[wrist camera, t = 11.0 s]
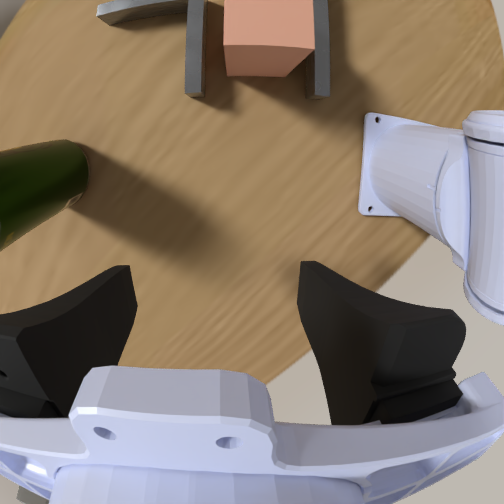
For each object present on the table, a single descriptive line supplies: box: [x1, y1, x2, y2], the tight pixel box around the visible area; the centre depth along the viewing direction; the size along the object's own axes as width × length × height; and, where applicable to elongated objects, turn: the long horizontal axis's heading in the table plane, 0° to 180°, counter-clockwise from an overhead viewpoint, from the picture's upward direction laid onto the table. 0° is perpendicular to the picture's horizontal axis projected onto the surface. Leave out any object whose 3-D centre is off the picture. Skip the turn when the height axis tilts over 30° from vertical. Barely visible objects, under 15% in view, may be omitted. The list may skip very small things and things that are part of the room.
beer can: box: [0, 140, 90, 251], centre depth 14 cm, size 5×5×12 cm
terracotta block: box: [223, 0, 315, 77], centre depth 13 cm, size 4×4×8 cm
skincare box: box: [17, 486, 50, 504], centre depth 32 cm, size 8×7×16 cm
